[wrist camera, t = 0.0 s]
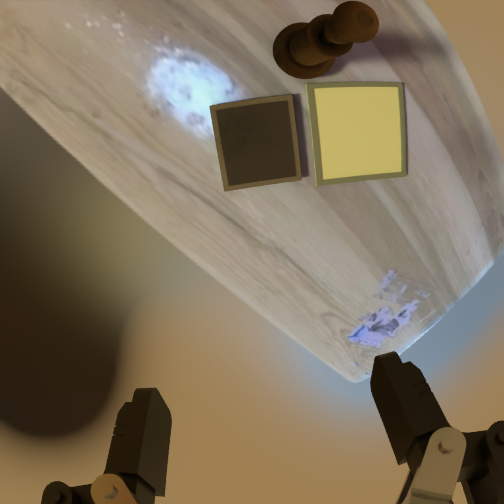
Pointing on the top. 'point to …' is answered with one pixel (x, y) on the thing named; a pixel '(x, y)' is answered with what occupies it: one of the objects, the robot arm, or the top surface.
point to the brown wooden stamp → (323, 39)
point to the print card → (357, 131)
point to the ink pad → (256, 142)
